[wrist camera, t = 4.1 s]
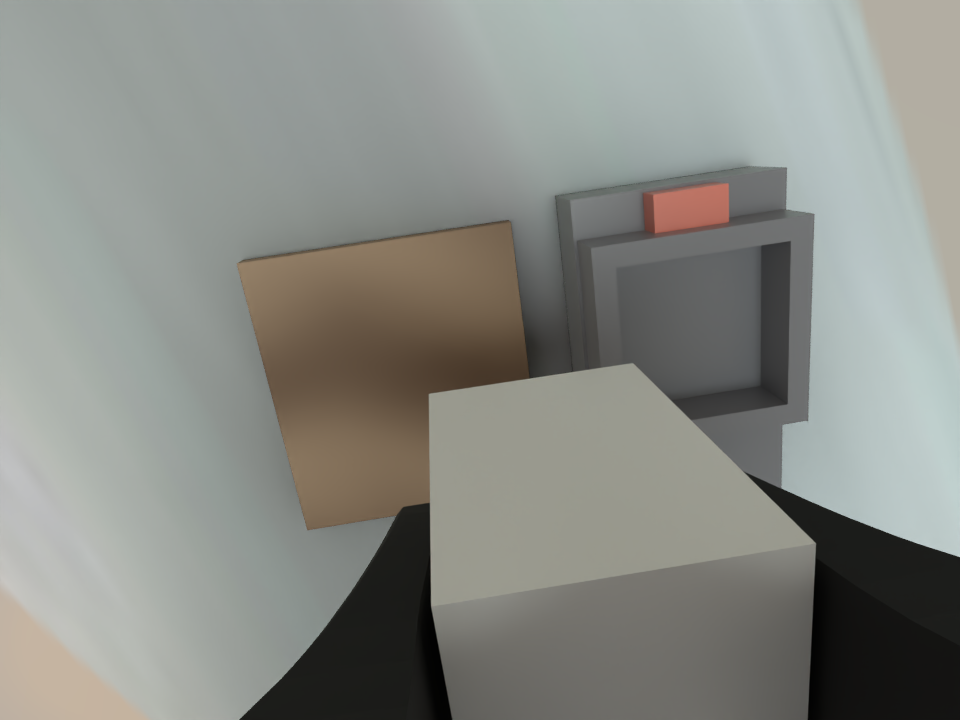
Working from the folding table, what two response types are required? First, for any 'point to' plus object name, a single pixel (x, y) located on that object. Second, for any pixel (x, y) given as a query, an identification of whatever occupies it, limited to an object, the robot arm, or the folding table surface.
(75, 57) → the folding table surface
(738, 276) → the power strip
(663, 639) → the block
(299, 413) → the walnut board
